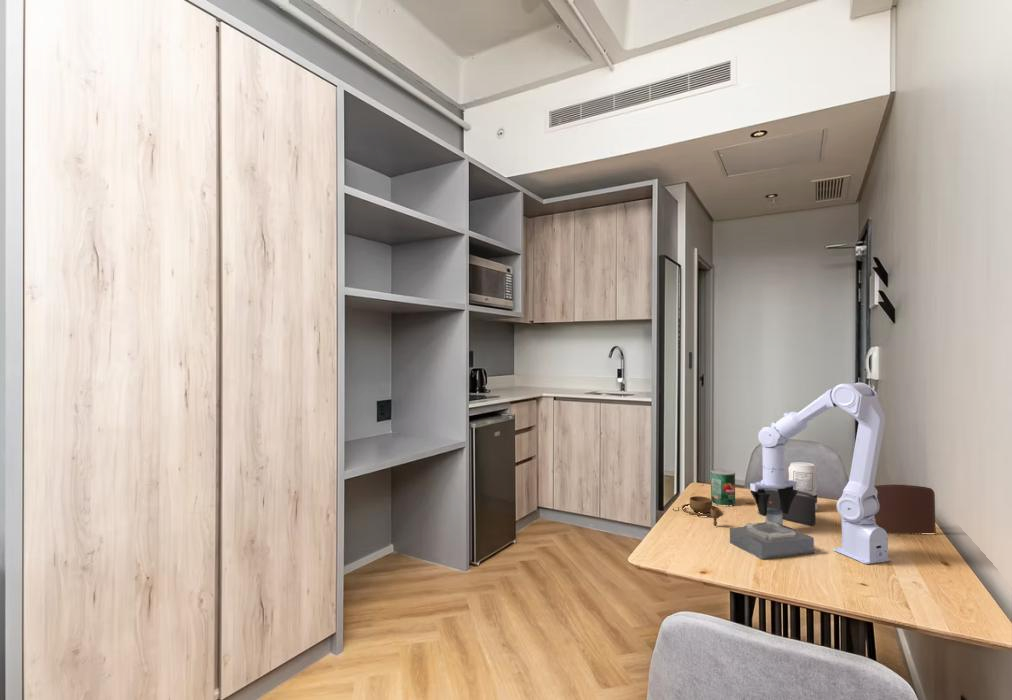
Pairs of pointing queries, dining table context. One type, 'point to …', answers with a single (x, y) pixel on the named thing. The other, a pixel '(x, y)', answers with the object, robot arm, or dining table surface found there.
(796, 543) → the grey square pedestal
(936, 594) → the dining table surface
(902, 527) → the letter holder
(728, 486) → the canned tomato
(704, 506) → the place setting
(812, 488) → the supplement can
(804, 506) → the dark grey slab
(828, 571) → the dining table surface
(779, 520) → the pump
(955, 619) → the dining table surface
